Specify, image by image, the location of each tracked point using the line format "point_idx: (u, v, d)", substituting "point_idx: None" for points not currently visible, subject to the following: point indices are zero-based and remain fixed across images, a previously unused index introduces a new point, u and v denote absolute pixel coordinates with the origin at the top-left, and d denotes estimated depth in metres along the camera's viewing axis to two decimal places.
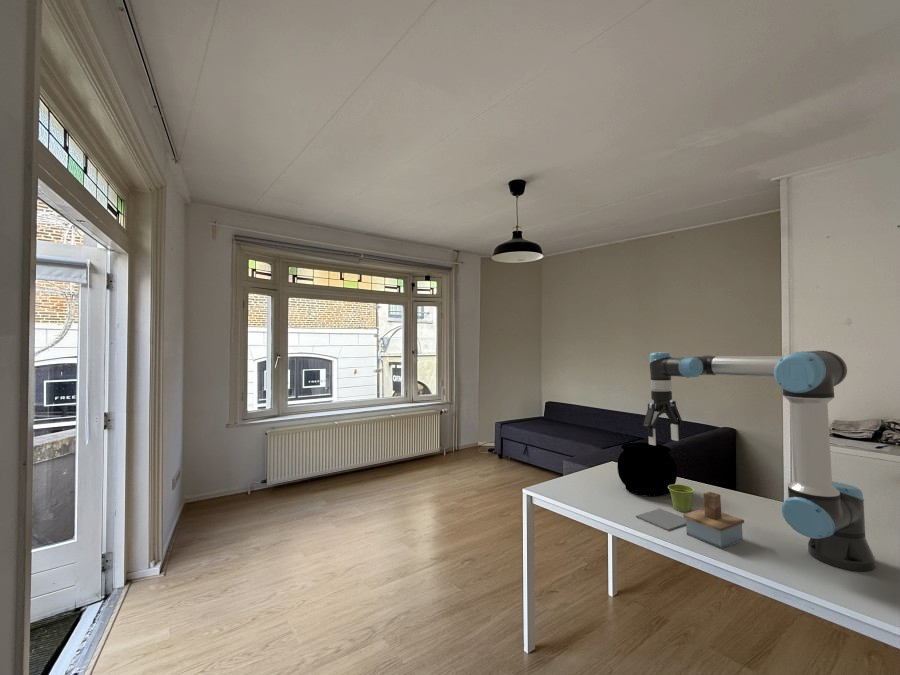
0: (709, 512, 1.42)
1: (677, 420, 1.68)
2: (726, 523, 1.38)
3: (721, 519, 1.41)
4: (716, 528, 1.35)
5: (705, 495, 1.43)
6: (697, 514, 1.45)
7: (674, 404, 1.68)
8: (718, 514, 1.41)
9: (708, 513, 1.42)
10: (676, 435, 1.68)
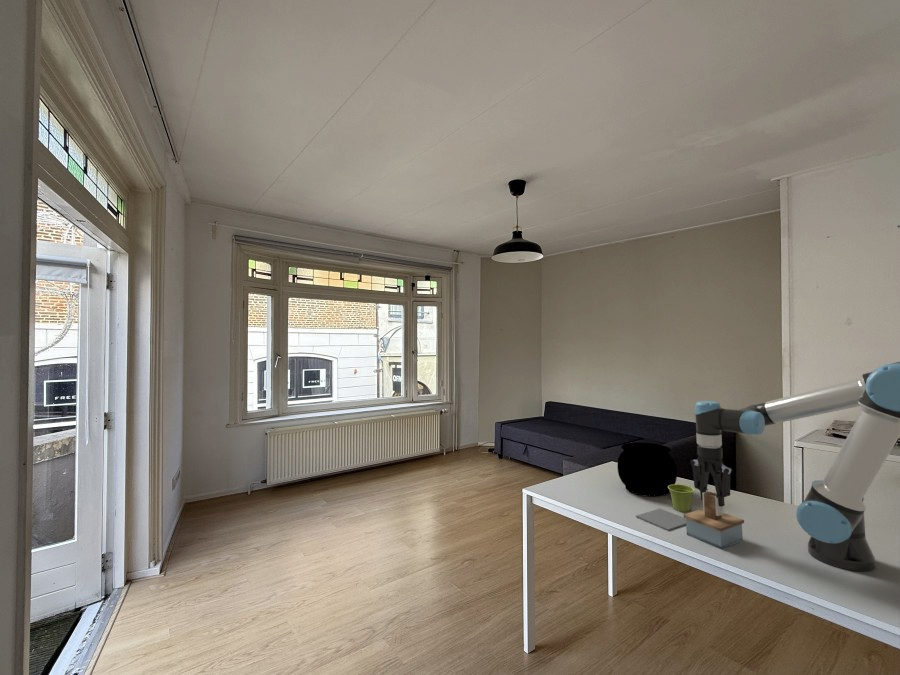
0: (709, 512, 1.42)
1: (719, 492, 1.40)
2: (726, 523, 1.38)
3: (721, 519, 1.41)
4: (716, 528, 1.35)
5: (705, 495, 1.43)
6: (697, 514, 1.45)
7: (724, 472, 1.38)
8: None
9: (708, 513, 1.42)
10: None
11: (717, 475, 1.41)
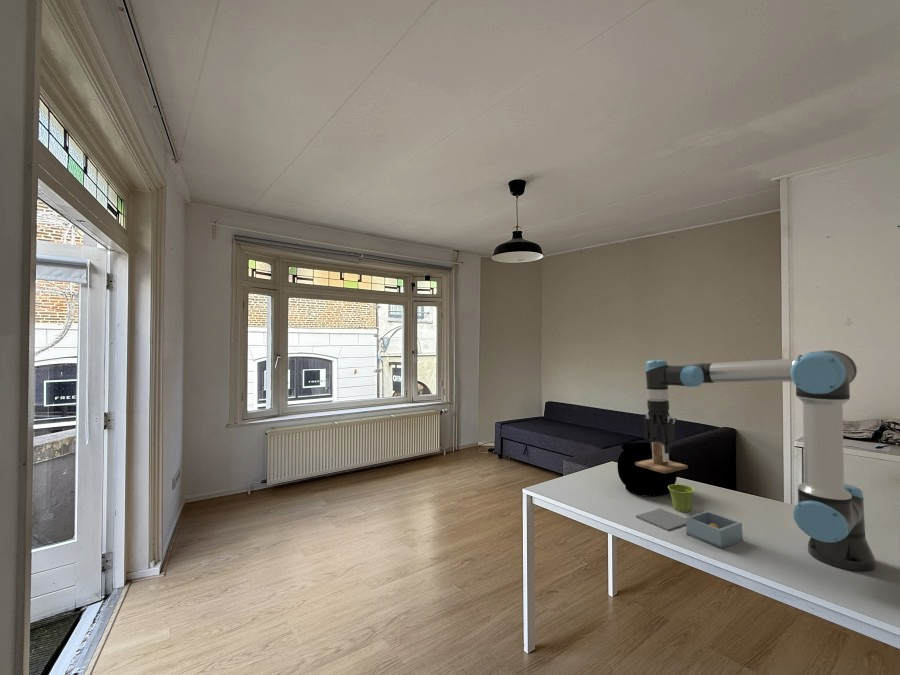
0: (657, 459, 1.58)
1: (665, 440, 1.55)
2: (670, 467, 1.54)
3: (667, 465, 1.56)
4: (661, 471, 1.51)
5: (654, 444, 1.59)
6: (647, 462, 1.61)
7: (669, 421, 1.54)
8: None
9: (656, 460, 1.58)
10: None
11: (664, 425, 1.56)
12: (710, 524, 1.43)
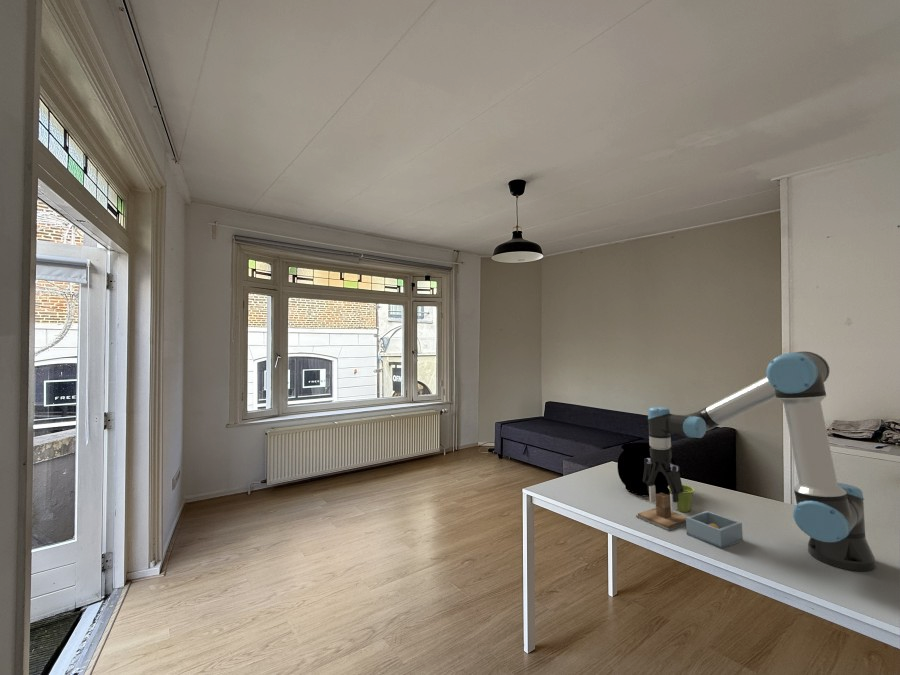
0: (660, 511, 1.57)
1: (672, 489, 1.53)
2: (674, 520, 1.53)
3: (670, 517, 1.56)
4: (664, 525, 1.51)
5: (657, 496, 1.58)
6: (650, 513, 1.61)
7: (673, 469, 1.53)
8: (668, 513, 1.56)
9: (659, 512, 1.58)
10: None
11: (668, 473, 1.55)
12: (710, 524, 1.43)
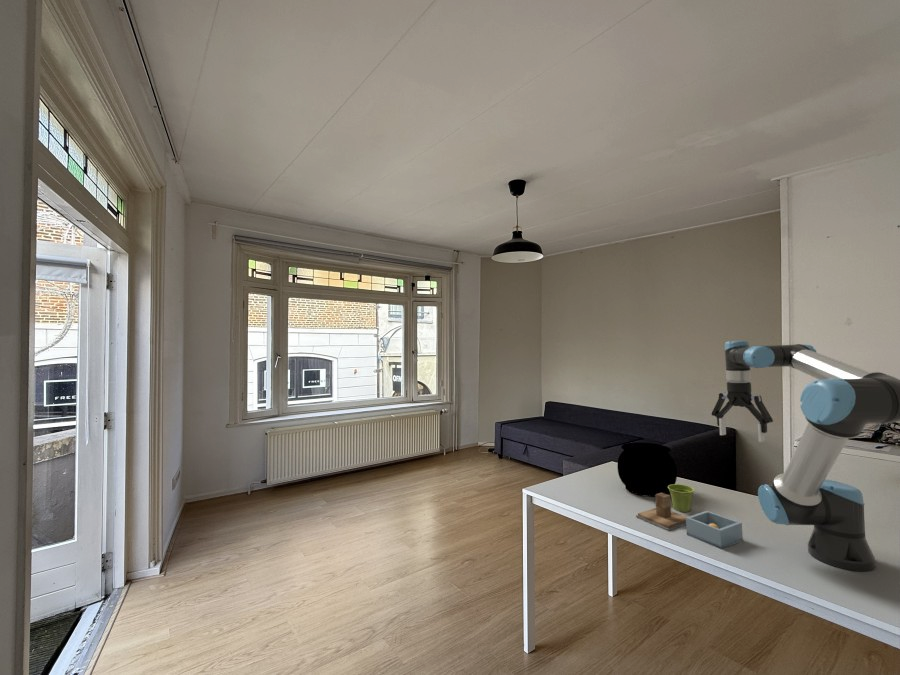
0: (660, 511, 1.57)
1: (760, 419, 1.46)
2: (674, 520, 1.53)
3: (670, 517, 1.56)
4: (664, 525, 1.51)
5: (657, 496, 1.58)
6: (650, 513, 1.61)
7: (755, 400, 1.48)
8: (668, 513, 1.56)
9: (659, 512, 1.58)
10: None
11: (750, 405, 1.50)
12: (710, 524, 1.43)
